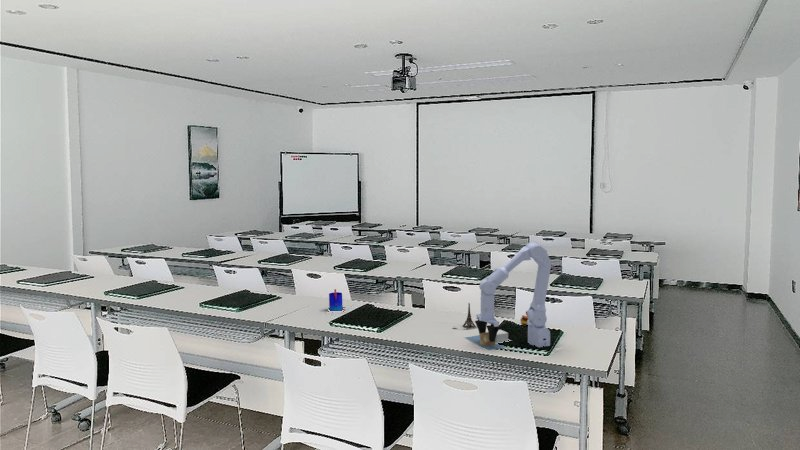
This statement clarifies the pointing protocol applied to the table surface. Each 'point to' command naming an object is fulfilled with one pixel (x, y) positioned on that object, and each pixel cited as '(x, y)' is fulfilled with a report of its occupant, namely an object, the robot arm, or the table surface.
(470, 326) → the eiffel tower figurine
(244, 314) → the table surface
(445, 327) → the table surface
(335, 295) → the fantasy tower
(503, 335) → the base block
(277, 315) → the table surface
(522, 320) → the small brown rounded figure
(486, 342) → the wooden cube
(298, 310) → the table surface
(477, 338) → the board
